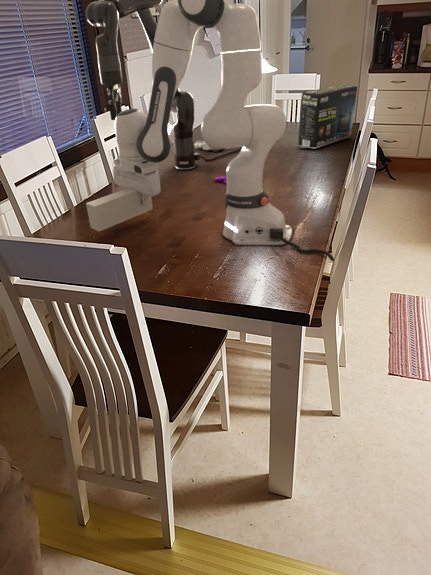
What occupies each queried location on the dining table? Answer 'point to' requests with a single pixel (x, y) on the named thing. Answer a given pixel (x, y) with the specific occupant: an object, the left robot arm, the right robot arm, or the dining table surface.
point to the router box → (326, 115)
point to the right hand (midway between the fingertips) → (138, 202)
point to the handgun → (220, 179)
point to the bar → (116, 208)
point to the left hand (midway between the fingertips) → (116, 117)
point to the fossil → (204, 146)
